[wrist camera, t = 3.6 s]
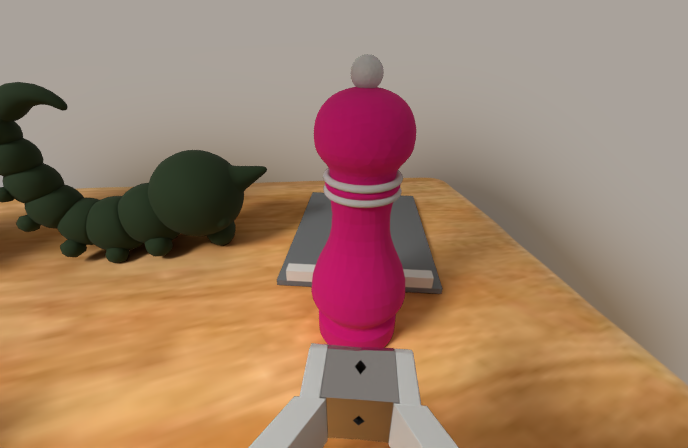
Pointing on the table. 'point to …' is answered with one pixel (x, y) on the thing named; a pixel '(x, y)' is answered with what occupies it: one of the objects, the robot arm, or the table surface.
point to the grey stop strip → (411, 276)
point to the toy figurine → (118, 211)
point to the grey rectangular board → (402, 229)
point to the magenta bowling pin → (361, 208)
